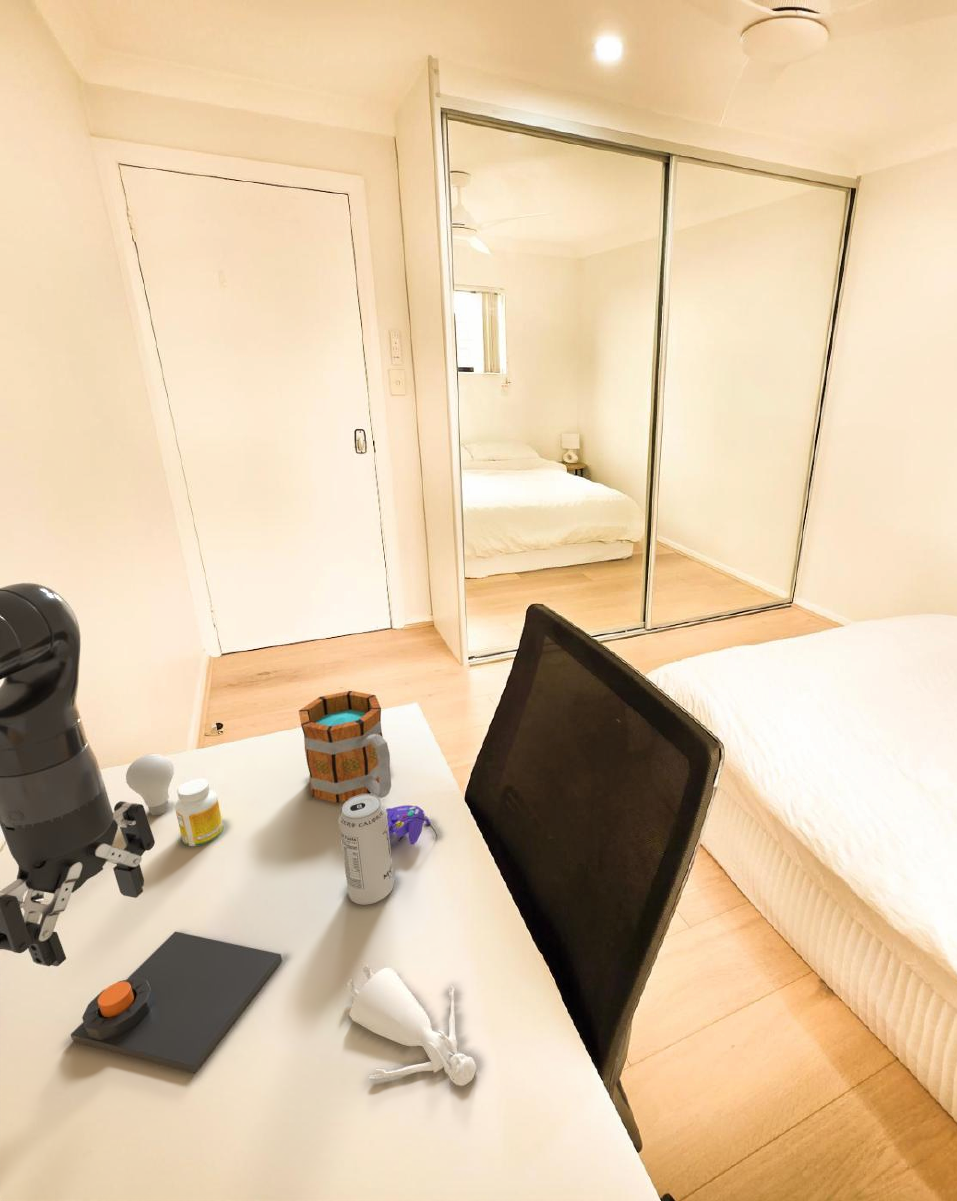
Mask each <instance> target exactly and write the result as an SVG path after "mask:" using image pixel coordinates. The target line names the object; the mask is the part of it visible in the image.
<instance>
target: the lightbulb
mask: <svg viewBox="0 0 957 1201" xmlns="http://www.w3.org/2000/svg"><path fill="white" fill-rule="evenodd" d="M174 774H175V767H174V763H173V762H172V761H171V760H170V758H168V757H167V756H165V755H164V754H158V753H150V754H145V755H143V756H140V757H138V758H136V760H134V761H132V763H131V764H130V765H129V767H128V769H127V770H126V773H125V780H126V784H127V786H128V787H129V788H130V789H131V790H132V791H134V792H135V793H136V794H138V795H139V796H140V797H141V798H142V799H143V801H144V804H145V806H147V808H148V810H149V813H150V815H151V816H160V815H163V814H165V813H166V812H168V811H169V810H170V802H169V798H170V793H169V789H170V784H171V782H172V780H173V777H174Z"/></svg>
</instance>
